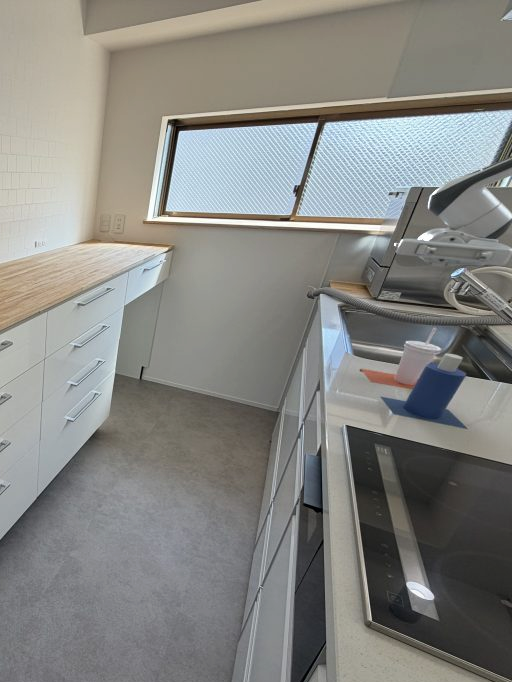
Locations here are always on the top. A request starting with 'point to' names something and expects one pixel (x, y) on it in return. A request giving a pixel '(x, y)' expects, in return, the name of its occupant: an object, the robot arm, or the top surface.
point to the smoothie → (415, 360)
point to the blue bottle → (435, 387)
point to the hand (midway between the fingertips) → (457, 254)
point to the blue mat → (398, 409)
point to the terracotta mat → (385, 378)
